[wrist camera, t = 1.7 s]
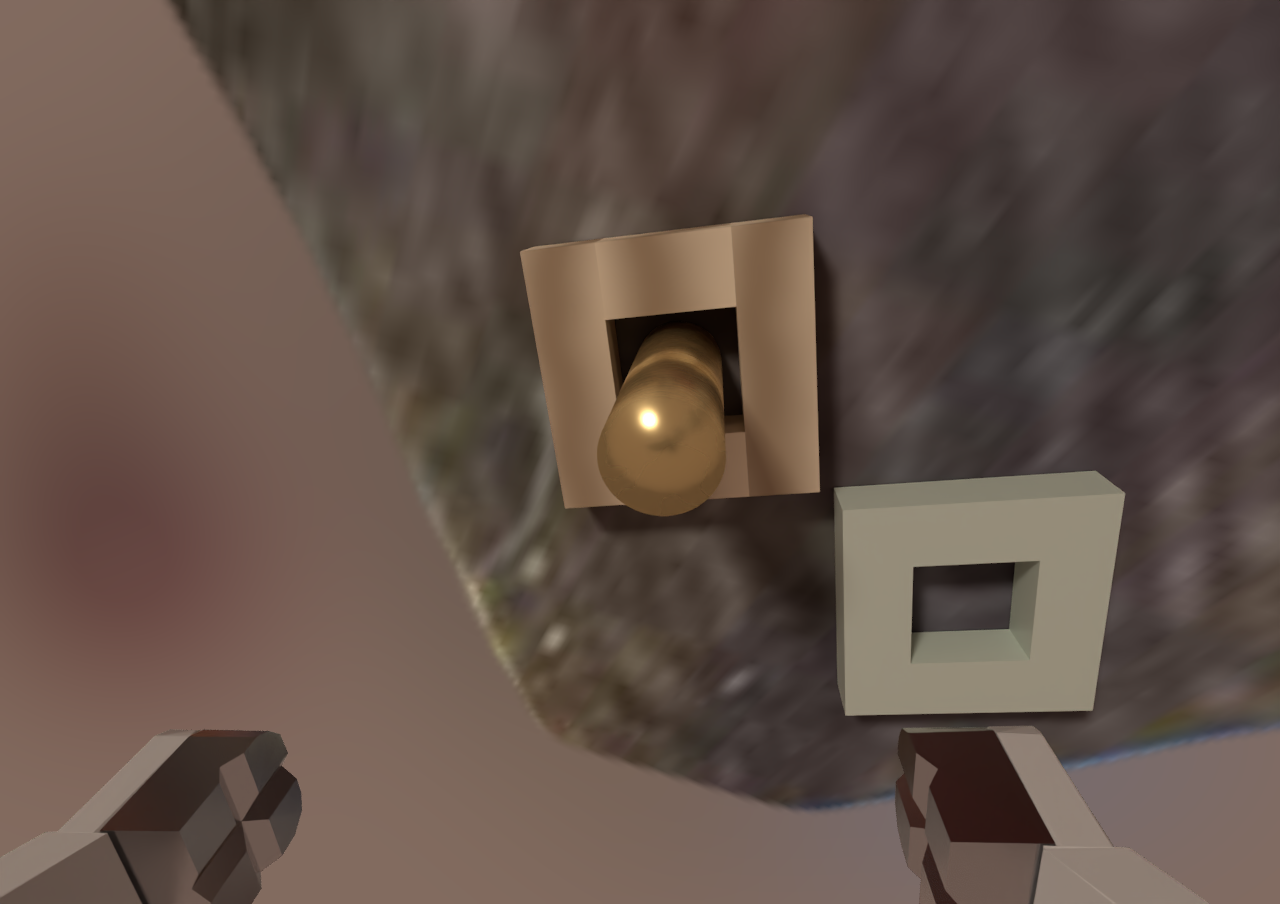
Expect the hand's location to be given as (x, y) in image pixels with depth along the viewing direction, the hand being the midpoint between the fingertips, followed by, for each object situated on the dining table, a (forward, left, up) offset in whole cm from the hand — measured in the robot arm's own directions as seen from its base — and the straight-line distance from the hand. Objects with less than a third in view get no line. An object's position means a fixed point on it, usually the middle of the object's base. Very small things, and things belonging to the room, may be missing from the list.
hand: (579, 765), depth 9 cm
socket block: (-13, +14, -25) cm, 31 cm away
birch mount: (0, +1, -25) cm, 25 cm away
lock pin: (0, +1, -25) cm, 25 cm away
